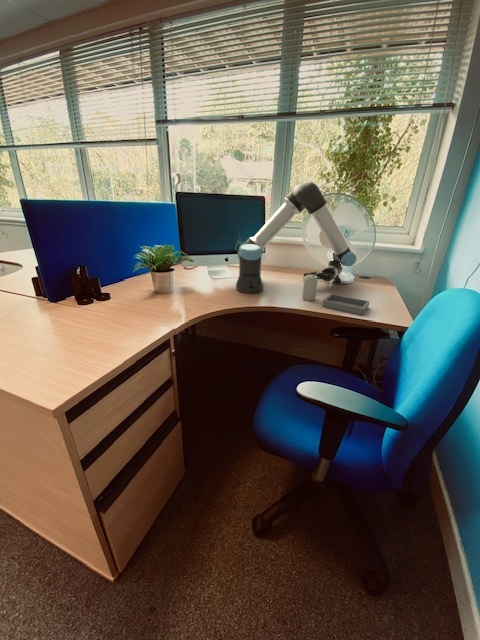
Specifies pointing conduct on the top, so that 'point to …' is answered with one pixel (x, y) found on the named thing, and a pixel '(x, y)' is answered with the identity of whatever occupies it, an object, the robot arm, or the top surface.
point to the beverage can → (310, 287)
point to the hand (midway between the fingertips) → (316, 282)
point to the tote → (346, 304)
